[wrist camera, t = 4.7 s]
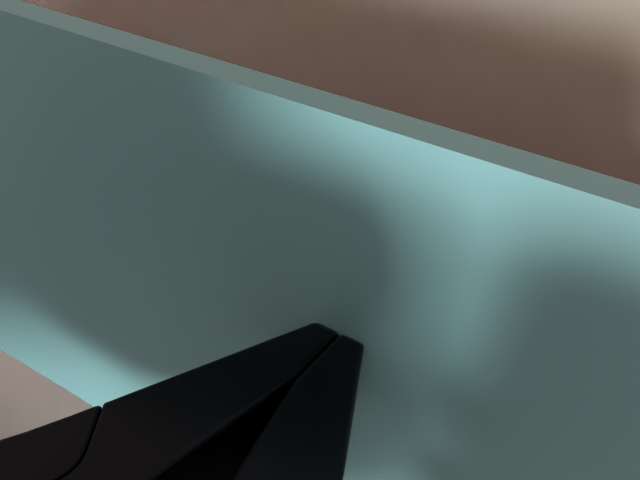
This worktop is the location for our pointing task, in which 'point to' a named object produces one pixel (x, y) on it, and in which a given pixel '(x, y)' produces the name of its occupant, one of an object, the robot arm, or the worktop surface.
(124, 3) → the worktop surface
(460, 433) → the lid
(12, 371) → the worktop surface
